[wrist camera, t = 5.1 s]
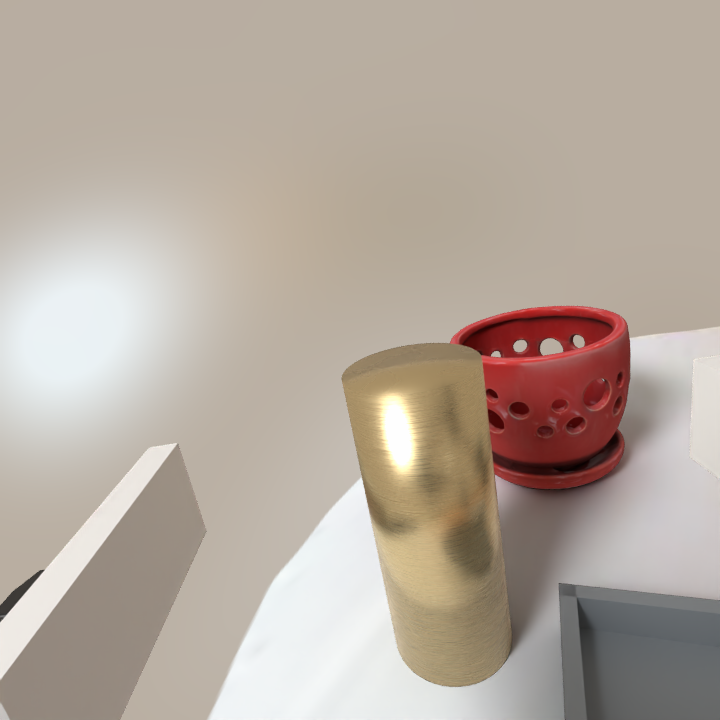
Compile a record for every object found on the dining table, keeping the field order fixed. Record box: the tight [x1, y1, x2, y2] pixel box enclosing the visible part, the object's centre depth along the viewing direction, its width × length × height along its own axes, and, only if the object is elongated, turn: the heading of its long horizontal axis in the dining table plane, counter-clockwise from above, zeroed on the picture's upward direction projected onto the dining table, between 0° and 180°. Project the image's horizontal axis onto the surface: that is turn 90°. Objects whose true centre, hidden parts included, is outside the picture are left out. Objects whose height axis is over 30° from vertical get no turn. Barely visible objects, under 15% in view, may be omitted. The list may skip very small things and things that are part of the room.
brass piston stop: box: [342, 343, 512, 687], centre depth 24 cm, size 6×6×16 cm
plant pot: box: [450, 306, 630, 489], centre depth 39 cm, size 13×13×12 cm
